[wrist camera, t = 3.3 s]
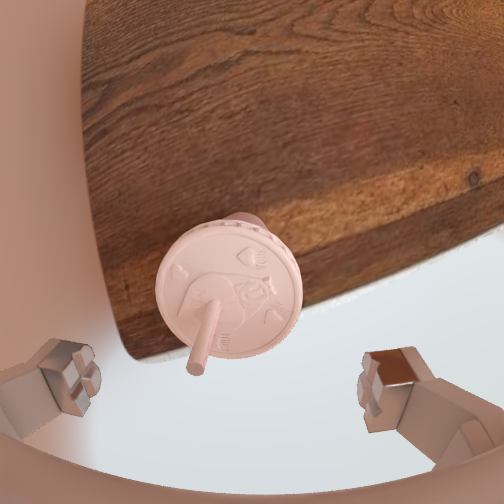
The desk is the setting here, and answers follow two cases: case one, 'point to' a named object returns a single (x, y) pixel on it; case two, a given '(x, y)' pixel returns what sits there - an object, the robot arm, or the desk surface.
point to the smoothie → (229, 290)
